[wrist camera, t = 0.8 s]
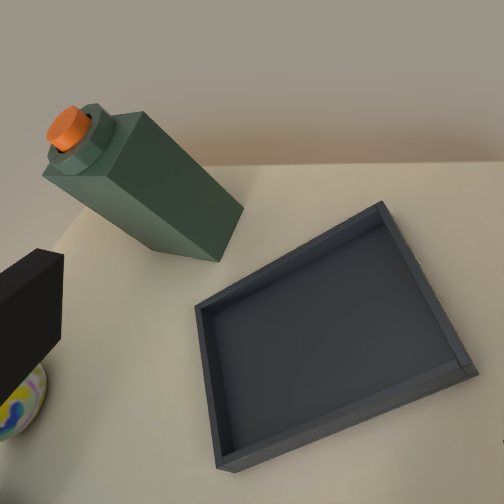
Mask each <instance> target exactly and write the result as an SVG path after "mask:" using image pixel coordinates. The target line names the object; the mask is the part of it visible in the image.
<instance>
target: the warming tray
mask: <svg viewBox="0 0 504 504" xmlns="http://www.w3.org/2000/svg"><path fill="white" fill-rule="evenodd" d="M194 307H195V315H196V322H197V330H198V337H199V344H200V352H201V359H202V367H203V374H204V382H205V389H206V396H207V404H208V411H209V419H210V426H211V434H212V441H213V448H214V456H215V463H216V469H219V470H223V471H228V472H232V473H237V472H239V471H242V470H244V469H247V468H249V467H252V466H254V465H257V464H259V463H262V462H264V461H267V460H269V459H271V458H274V457H276V456H279V455H281V454H284V453H286V452H289V451H291V450H294V449H296V448H299V447H301V446H304V445H306V444H309V443H311V442H314V441H316V440H318V439H321V438H323V437H326V436H328V435H331V434H333V433H336V432H338V431H341V430H343V429H346V428H348V427H351V426H353V425H356V424H358V423H361V422H363V421H365V420H368V419H370V418H373V417H375V416H378V415H380V414H383V413H385V412H388V411H390V410H393V409H395V408H398V407H400V406H403V405H405V404H408V403H410V402H412V401H415V400H417V399H420V398H422V397H425V396H427V395H430V394H432V393H435V392H437V391H440V390H442V389H445V388H447V387H450V386H452V385H454V384H457V383H459V382H462V381H464V380H467V379H469V378H472V377H474V376H477V375H479V373H478V371H477V369H476V367H475V366H474V364H473V362H472V360H471V358H470V356H469V355H468V353H467V351H466V349H465V347H464V346H463V344H462V342H461V340H460V338H459V336H458V335H457V333H456V331H455V329H454V327H453V326H452V324H451V322H450V320H449V318H448V317H447V315H446V313H445V311H444V309H443V307H442V306H441V304H440V302H439V300H438V298H437V297H436V295H435V293H434V291H433V289H432V287H431V286H430V284H429V282H428V280H427V278H426V277H425V275H424V273H423V271H422V269H421V268H420V266H419V264H418V262H417V260H416V258H415V257H414V255H413V253H412V251H411V249H410V248H409V246H408V244H407V242H406V240H405V238H404V237H403V235H402V233H401V231H400V229H399V228H398V226H397V224H396V222H395V220H394V218H393V217H392V215H391V213H390V212H389V210H388V209H387V207H386V205H385V204H384V202H383V201H380V202H378V203H376V204H375V205H373V206H371V207H369V208H367V209H365V210H364V211H362V212H360V213H358V214H357V215H355V216H353V217H351V218H349V219H348V220H346V221H344V222H342V223H341V224H339V225H337V226H335V227H334V228H332V229H330V230H328V231H326V232H325V233H323V234H321V235H319V236H318V237H316V238H314V239H312V240H310V241H309V242H307V243H305V244H303V245H302V246H300V247H298V248H296V249H295V250H293V251H291V252H289V253H287V254H286V255H284V256H282V257H280V258H279V259H277V260H275V261H273V262H271V263H270V264H268V265H266V266H264V267H263V268H261V269H259V270H257V271H256V272H254V273H252V274H250V275H248V276H247V277H245V278H243V279H241V280H240V281H238V282H236V283H234V284H232V285H231V286H229V287H227V288H225V289H224V290H222V291H220V292H218V293H217V294H215V295H213V296H211V297H209V298H208V299H206V300H204V301H202V302H201V303H199V304H197V305H195V306H194Z"/></svg>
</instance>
